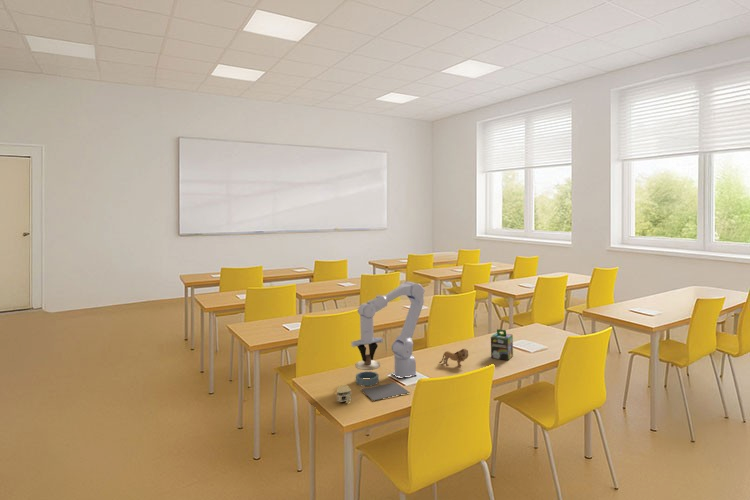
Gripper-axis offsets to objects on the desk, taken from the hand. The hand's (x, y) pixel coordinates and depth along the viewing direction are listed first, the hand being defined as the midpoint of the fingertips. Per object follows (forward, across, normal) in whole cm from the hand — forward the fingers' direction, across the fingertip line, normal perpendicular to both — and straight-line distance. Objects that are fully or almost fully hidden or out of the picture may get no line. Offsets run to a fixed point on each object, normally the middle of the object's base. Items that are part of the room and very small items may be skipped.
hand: (367, 360), depth 205 cm
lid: (+3, 0, 0) cm, 3 cm away
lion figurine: (+11, -47, -1) cm, 48 cm away
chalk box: (+11, -76, 0) cm, 77 cm away
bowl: (+10, 0, -1) cm, 10 cm away
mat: (+10, -2, +13) cm, 17 cm away
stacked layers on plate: (+11, +17, +14) cm, 25 cm away
